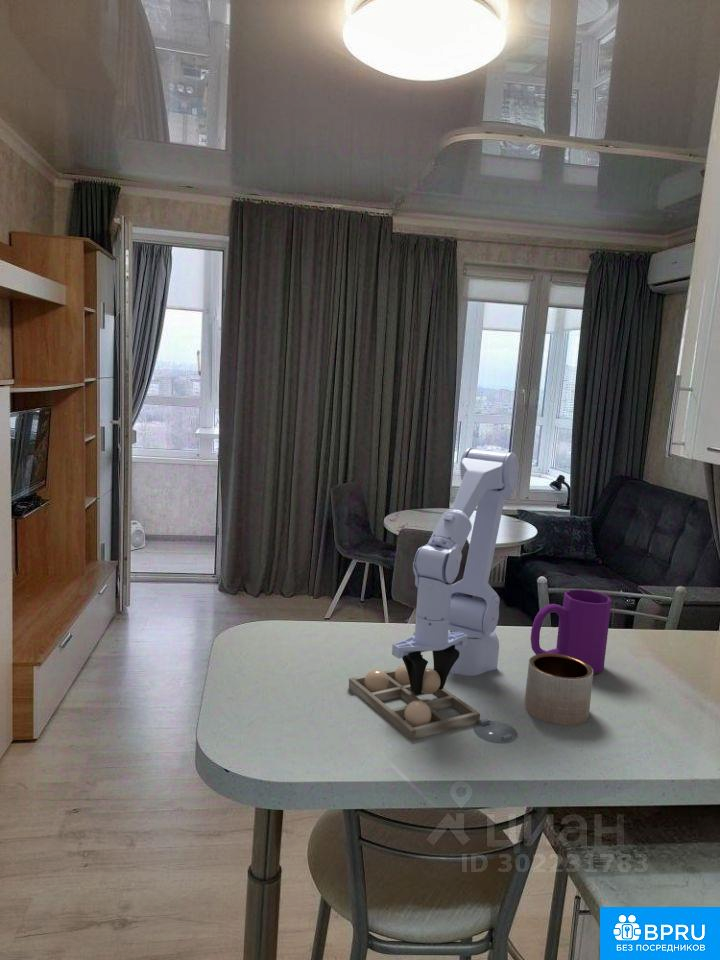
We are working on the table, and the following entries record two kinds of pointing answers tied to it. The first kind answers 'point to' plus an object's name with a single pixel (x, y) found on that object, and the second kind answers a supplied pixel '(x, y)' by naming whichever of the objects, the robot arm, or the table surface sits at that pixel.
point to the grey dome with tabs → (495, 731)
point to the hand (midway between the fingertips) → (427, 689)
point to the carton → (405, 693)
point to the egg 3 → (417, 713)
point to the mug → (578, 627)
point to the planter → (558, 689)
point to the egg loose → (430, 681)
